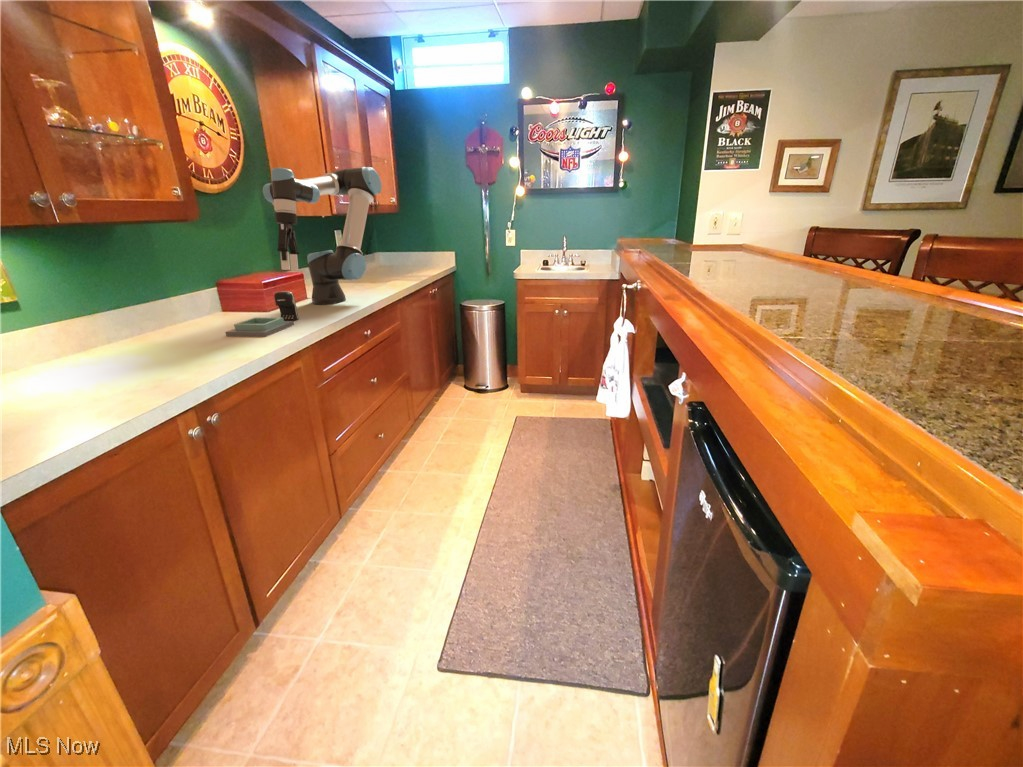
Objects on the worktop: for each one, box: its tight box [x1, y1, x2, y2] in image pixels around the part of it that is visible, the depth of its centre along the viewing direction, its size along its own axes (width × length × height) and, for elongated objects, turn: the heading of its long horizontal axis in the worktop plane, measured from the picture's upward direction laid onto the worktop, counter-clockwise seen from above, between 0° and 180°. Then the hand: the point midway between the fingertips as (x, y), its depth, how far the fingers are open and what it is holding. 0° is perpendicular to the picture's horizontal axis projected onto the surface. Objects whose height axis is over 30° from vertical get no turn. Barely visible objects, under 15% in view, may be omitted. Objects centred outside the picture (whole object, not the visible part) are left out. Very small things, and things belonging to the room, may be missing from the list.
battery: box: [273, 290, 300, 321], centre depth 173 cm, size 7×4×11 cm, turn 80°
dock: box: [224, 317, 295, 337], centre depth 161 cm, size 16×16×4 cm
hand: (290, 270), depth 170 cm, fingers open, 13 cm apart
